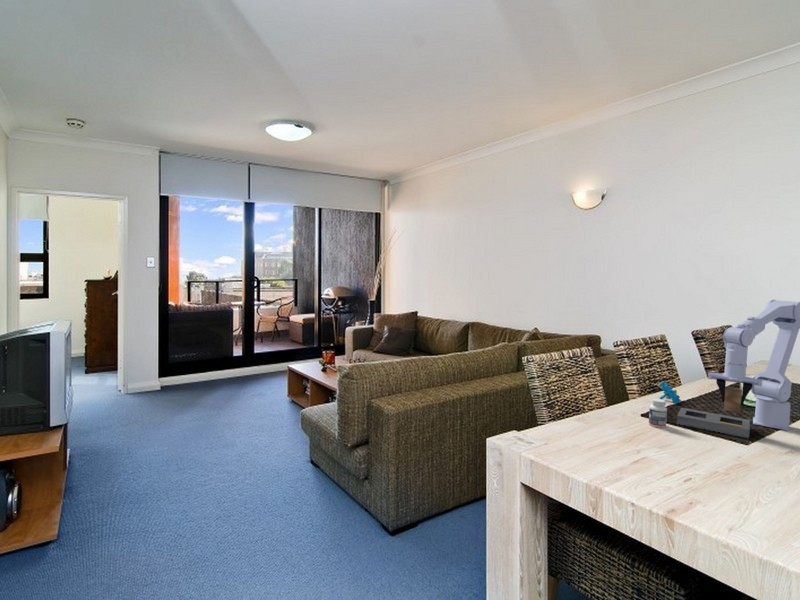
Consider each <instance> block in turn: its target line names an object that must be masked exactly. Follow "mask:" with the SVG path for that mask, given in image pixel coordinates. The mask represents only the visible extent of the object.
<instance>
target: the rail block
mask: <svg viewBox="0 0 800 600" xmlns="http://www.w3.org/2000/svg"><path fill="white" fill-rule="evenodd" d="M679 424H680V426H684V425H685V427H689V428H695V429H700V430H704V429H705V431H709V430H710V432H713V431H715V432H714V433H718V432H720V433H719V434H723V433H724V434H725V435H729V436H734V437H739V438H742V439H744V438H745V439H750V430H751V428H750V427H751V420H750V419H746V418H741V417H736V416H730V415H724V414H719V413H713V412H708V411H703V410H697V409H692V408H686V407H680V409H679V411H678V413H677V415H676V425H679Z"/></svg>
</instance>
